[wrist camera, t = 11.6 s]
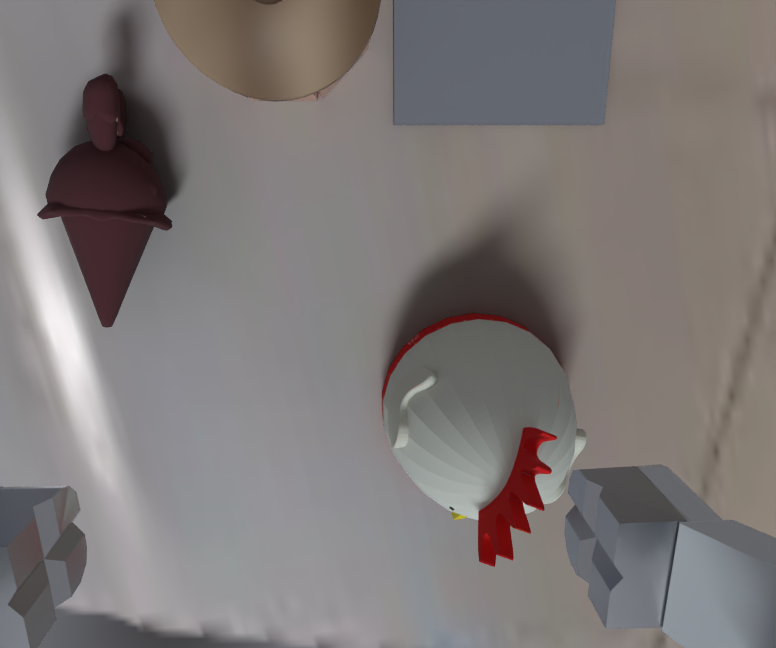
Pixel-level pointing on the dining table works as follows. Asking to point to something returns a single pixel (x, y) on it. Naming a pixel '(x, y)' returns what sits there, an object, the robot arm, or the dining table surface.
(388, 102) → the dining table surface
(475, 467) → the kitchen timer
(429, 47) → the mat
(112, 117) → the icecream
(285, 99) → the lid
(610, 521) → the robot arm
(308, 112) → the dining table surface
